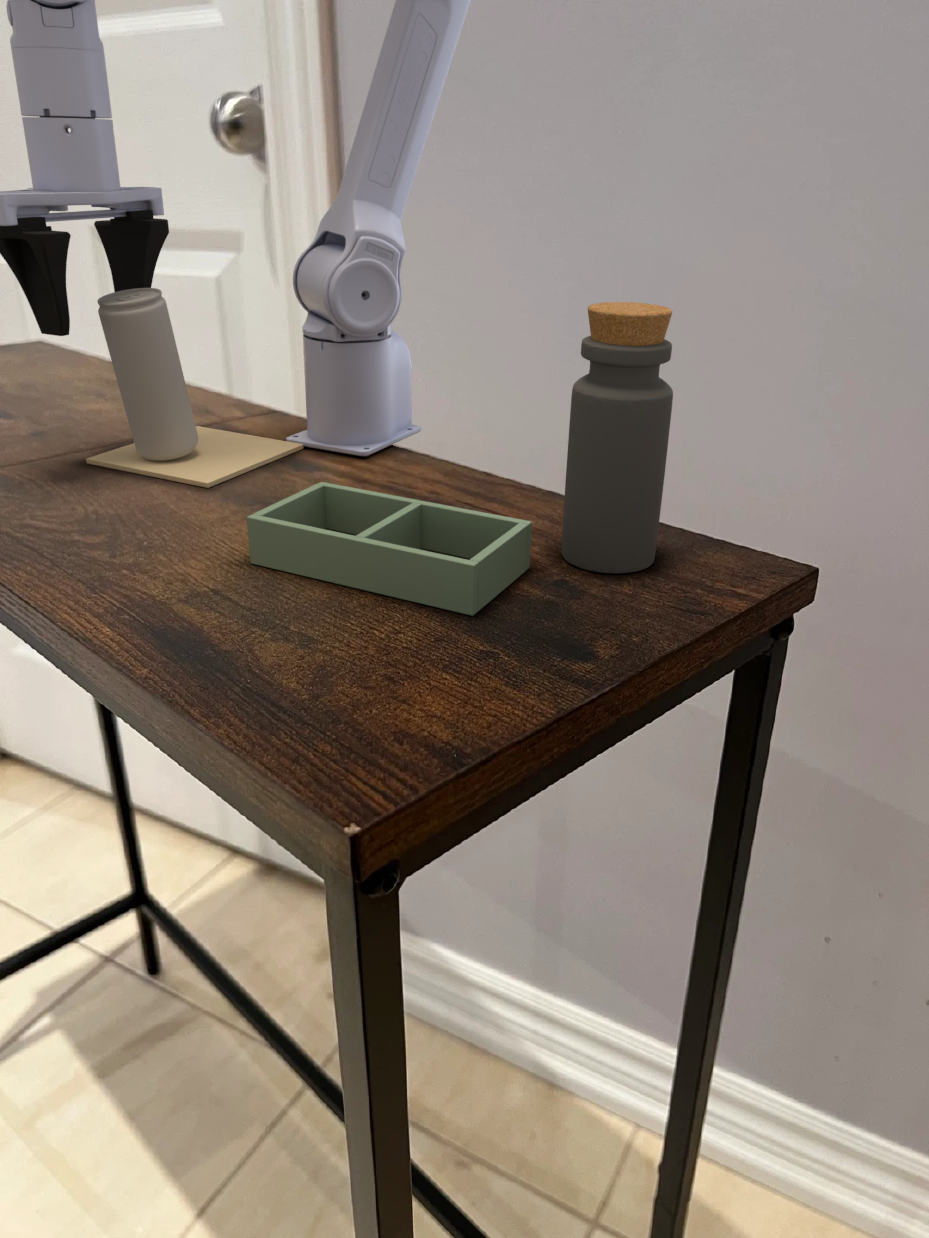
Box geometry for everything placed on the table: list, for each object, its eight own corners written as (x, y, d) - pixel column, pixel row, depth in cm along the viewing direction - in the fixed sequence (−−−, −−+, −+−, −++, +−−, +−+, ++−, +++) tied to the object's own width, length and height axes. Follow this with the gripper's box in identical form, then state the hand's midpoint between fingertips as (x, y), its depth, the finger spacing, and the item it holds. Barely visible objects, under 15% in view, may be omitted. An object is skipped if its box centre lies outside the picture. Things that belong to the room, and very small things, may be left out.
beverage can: (129, 451, 78) (86, 297, 72) (186, 434, 80) (149, 284, 74) (151, 468, 75) (108, 308, 68) (210, 450, 77) (173, 293, 71)
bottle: (608, 533, 65) (629, 297, 59) (674, 561, 61) (705, 310, 55) (541, 551, 62) (555, 304, 56) (606, 582, 58) (629, 319, 51)
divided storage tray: (323, 524, 66) (321, 481, 64) (530, 567, 60) (532, 521, 58) (249, 563, 59) (246, 516, 58) (472, 616, 53) (474, 565, 52)
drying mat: (190, 429, 86) (190, 424, 86) (303, 448, 82) (303, 444, 81) (86, 463, 77) (85, 458, 77) (208, 488, 72) (207, 482, 72)
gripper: (103, 121, 74) (127, 309, 80) (-69, 114, 62) (-27, 335, 68) (177, 122, 71) (195, 317, 77) (11, 115, 59) (48, 346, 65)
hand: (96, 326), depth 72 cm, fingers open, 7 cm apart
